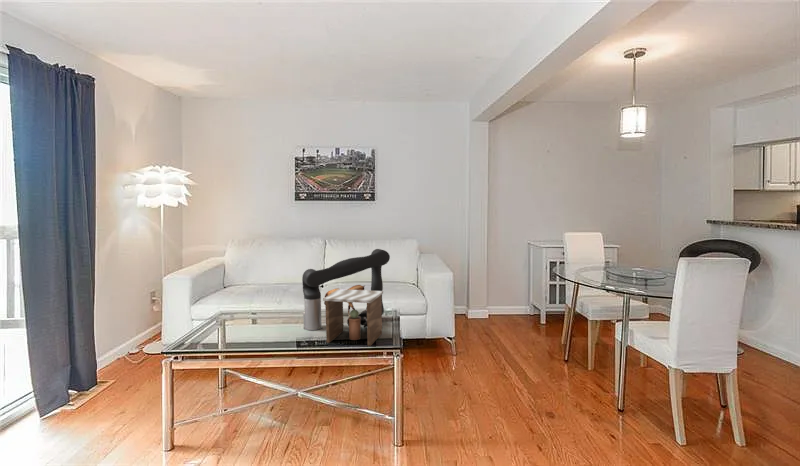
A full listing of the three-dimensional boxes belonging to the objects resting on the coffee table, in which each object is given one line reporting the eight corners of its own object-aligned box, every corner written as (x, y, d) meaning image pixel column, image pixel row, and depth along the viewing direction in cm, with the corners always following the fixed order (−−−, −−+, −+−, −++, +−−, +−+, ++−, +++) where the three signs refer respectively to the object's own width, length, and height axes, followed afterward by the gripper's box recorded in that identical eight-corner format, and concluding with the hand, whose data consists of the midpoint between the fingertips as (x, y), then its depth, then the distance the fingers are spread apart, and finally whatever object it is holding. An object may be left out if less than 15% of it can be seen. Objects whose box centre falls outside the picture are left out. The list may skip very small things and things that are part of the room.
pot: (346, 339, 248) (346, 311, 247) (351, 335, 255) (350, 307, 253) (358, 340, 247) (358, 311, 245) (363, 336, 253) (362, 308, 251)
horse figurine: (367, 318, 288) (366, 284, 286) (359, 321, 281) (359, 287, 279) (326, 312, 303) (325, 280, 301) (318, 315, 296) (317, 282, 294)
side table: (324, 343, 243) (323, 298, 241) (340, 330, 264) (339, 289, 262) (371, 346, 237) (370, 300, 235) (383, 333, 258) (383, 291, 256)
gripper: (354, 309, 270) (343, 317, 254) (378, 311, 266) (369, 319, 251) (354, 322, 271) (344, 331, 255) (378, 324, 267) (369, 332, 252)
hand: (356, 325), depth 253 cm, fingers open, 8 cm apart
